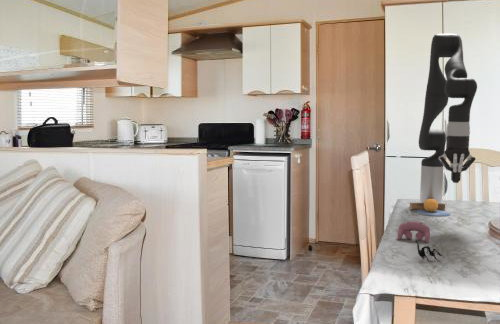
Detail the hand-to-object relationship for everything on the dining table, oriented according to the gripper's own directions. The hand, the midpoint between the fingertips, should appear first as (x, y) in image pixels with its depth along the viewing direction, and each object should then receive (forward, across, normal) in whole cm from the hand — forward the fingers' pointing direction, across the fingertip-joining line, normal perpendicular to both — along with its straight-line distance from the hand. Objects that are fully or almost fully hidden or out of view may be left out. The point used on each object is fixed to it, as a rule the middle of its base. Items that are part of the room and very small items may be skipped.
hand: (455, 182), depth 180 cm
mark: (+16, +1, -21) cm, 27 cm away
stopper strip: (+16, +1, -29) cm, 33 cm away
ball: (+13, +1, -24) cm, 27 cm away
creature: (+16, +21, +45) cm, 52 cm away
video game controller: (+16, +20, +23) cm, 35 cm away
